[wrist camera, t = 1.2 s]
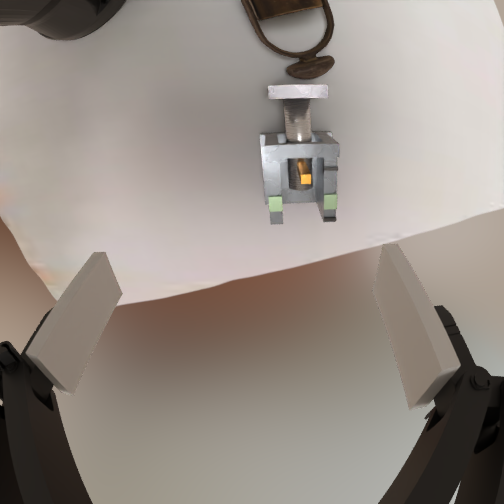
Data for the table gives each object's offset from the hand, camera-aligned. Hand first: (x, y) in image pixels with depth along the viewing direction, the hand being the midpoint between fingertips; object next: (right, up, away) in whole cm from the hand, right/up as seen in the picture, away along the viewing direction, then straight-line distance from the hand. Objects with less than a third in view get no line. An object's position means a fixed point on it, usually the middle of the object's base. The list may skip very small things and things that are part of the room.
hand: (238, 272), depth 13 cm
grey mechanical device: (+5, +13, +14) cm, 20 cm away
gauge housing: (+6, +10, +18) cm, 21 cm away
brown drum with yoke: (+4, +24, +9) cm, 26 cm away
